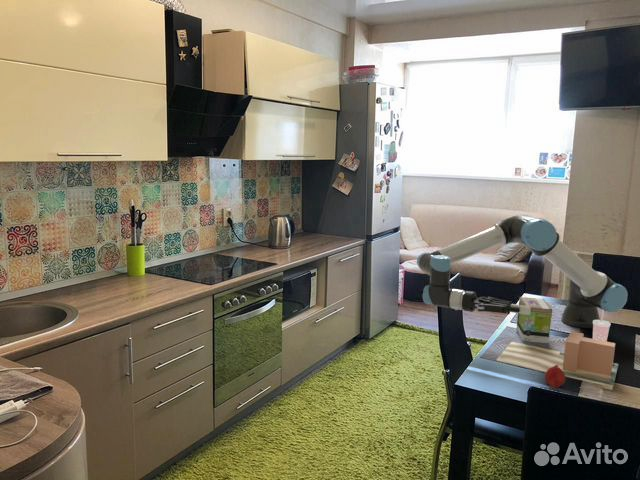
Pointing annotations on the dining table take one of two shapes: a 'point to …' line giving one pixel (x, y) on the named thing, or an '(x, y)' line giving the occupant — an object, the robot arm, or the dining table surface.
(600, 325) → the beverage cup
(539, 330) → the tea box
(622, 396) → the dining table surface
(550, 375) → the red pomegranate
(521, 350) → the board
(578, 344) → the tee
